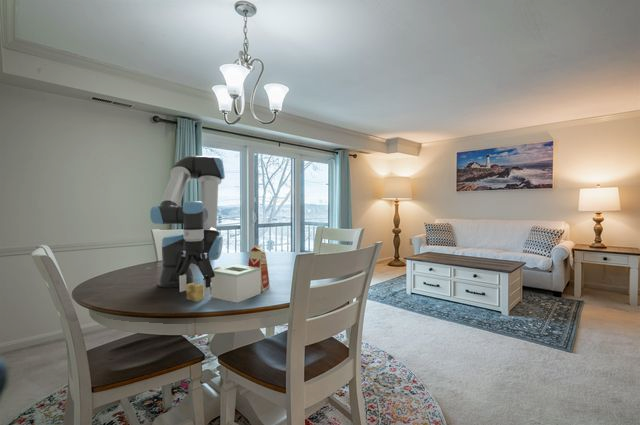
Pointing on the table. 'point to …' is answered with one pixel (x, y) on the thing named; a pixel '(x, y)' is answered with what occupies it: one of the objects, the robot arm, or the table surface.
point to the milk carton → (260, 265)
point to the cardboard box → (194, 291)
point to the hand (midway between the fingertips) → (194, 293)
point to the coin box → (236, 283)
